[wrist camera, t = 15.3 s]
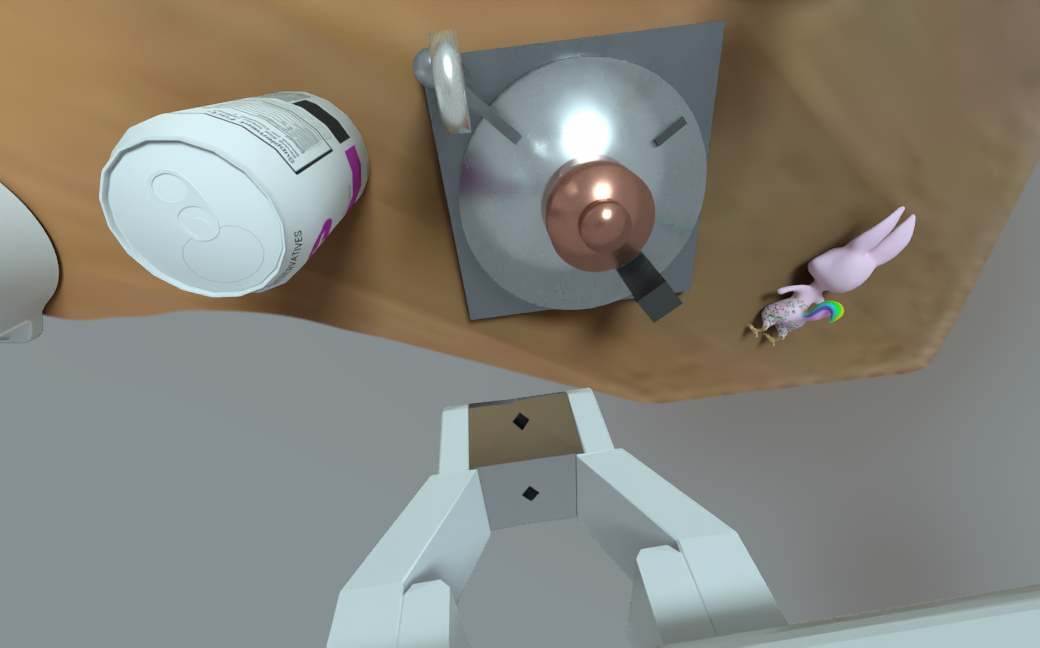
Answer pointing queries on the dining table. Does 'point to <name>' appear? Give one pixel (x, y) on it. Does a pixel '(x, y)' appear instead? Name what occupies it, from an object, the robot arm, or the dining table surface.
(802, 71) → the dining table surface
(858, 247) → the rabbit figure
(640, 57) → the plinth
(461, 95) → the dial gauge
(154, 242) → the supplement can
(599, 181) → the cover
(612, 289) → the turntable
